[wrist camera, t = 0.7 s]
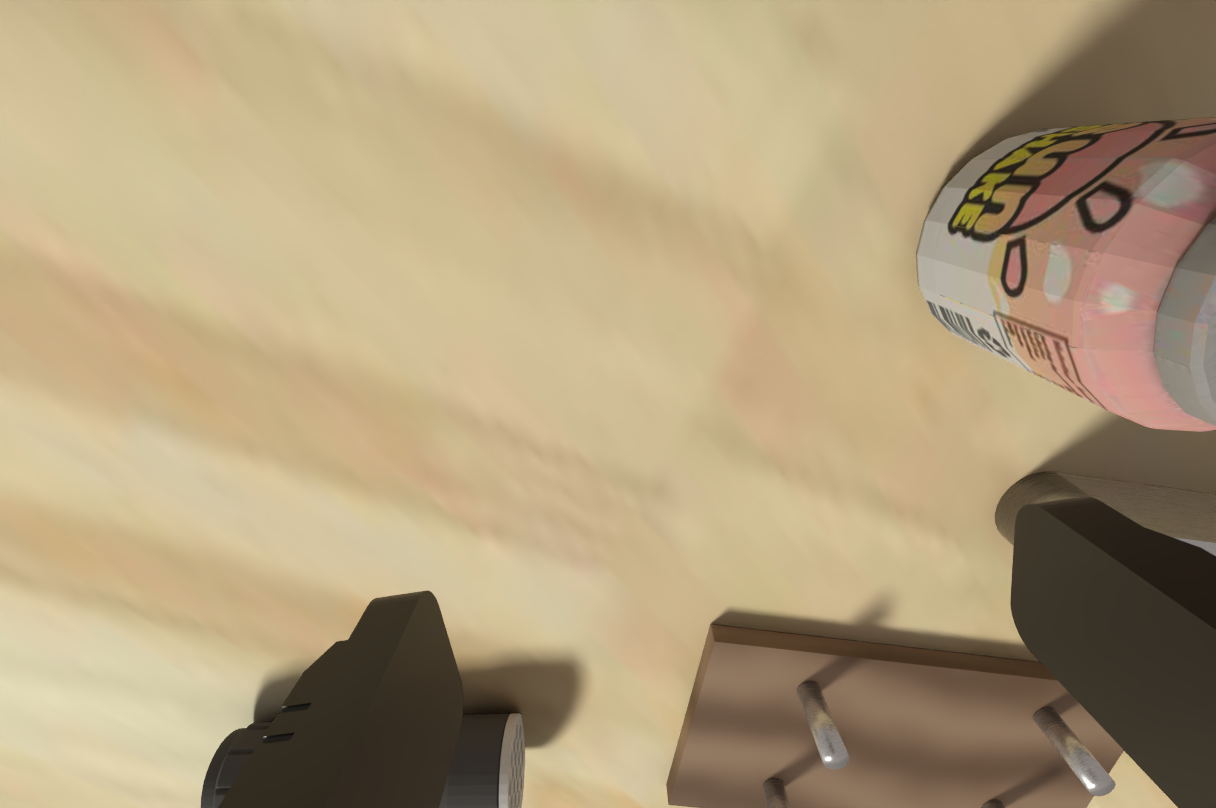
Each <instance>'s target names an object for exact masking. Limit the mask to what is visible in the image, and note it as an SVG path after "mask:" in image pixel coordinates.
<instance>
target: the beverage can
mask: <svg viewBox="0 0 1216 808" xmlns="http://www.w3.org/2000/svg"><path fill="white" fill-rule="evenodd" d="M916 260H917V277H918V285H919V287H920V290H921V292H922V294H923V297H924V299H925V301H926V304H927V306H928V308H929V311H930V313H931V314H932V315H933V316H934V317H935V318H936V319H937V320H938V321H939V322H940V323H941V324H942V325H943V326H944V327H945V328H946V329H947V330H948V331H949V332H950V333H952V334H954V335H956V336H958V337H960V338H962V339H964V340H966V341H968V342H970V343H972V344H974V345H976V346H978V347H980V348H982V349H984V350H986V351H988V352H990V353H992V354H994V355H996V356H998V357H1000V358H1002V359H1004V360H1006V361H1008V362H1011V363H1013V364H1015V365H1017V366H1019V367H1021V368H1023V369H1025V370H1027V371H1029V372H1031V373H1033V374H1035V375H1037V376H1039V377H1041V378H1043V379H1045V380H1047V381H1049V382H1051V383H1053V384H1055V385H1057V386H1059V387H1061V388H1063V389H1065V390H1067V391H1069V392H1071V393H1073V394H1076V395H1078V396H1080V397H1082V398H1084V399H1086V400H1088V401H1090V402H1092V403H1094V404H1096V405H1098V406H1100V407H1102V408H1104V409H1106V410H1108V411H1110V412H1112V413H1115V414H1117V415H1119V416H1122V417H1124V418H1126V419H1129V420H1131V421H1133V422H1136V423H1138V424H1141V425H1143V426H1145V427H1148V428H1154V429H1165V430H1181V431H1198V432H1203V431H1210V430H1216V117H1209V118H1194V119H1180V120H1166V121H1152V122H1138V123H1123V124H1109V125H1095V126H1081V127H1067V128H1052V129H1041V130H1038V131H1034V132H1030V133H1026V134H1022V135H1018V136H1014V137H1011V138H1007V139H1005V140H1003V141H1001V142H1000V143H998V144H996V145H995V146H993V147H991V148H990V149H988V150H986V151H985V152H983V153H981V154H980V155H978V156H976V157H975V158H973V159H972V160H970V161H969V162H968V163H967V164H966V165H965V166H964V167H963V168H962V169H961V170H960V171H959V172H958V173H957V174H956V175H955V176H954V177H953V178H952V179H951V180H950V181H949V182H948V183H947V184H946V185H945V186H944V187H943V188H942V190H941V192H940V194H939V195H938V197H937V199H936V201H935V202H934V204H933V206H932V208H931V209H930V211H929V213H928V215H927V216H926V218H925V220H924V224H923V227H922V231H921V235H920V239H919V243H918V247H917V251H916Z"/></svg>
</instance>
